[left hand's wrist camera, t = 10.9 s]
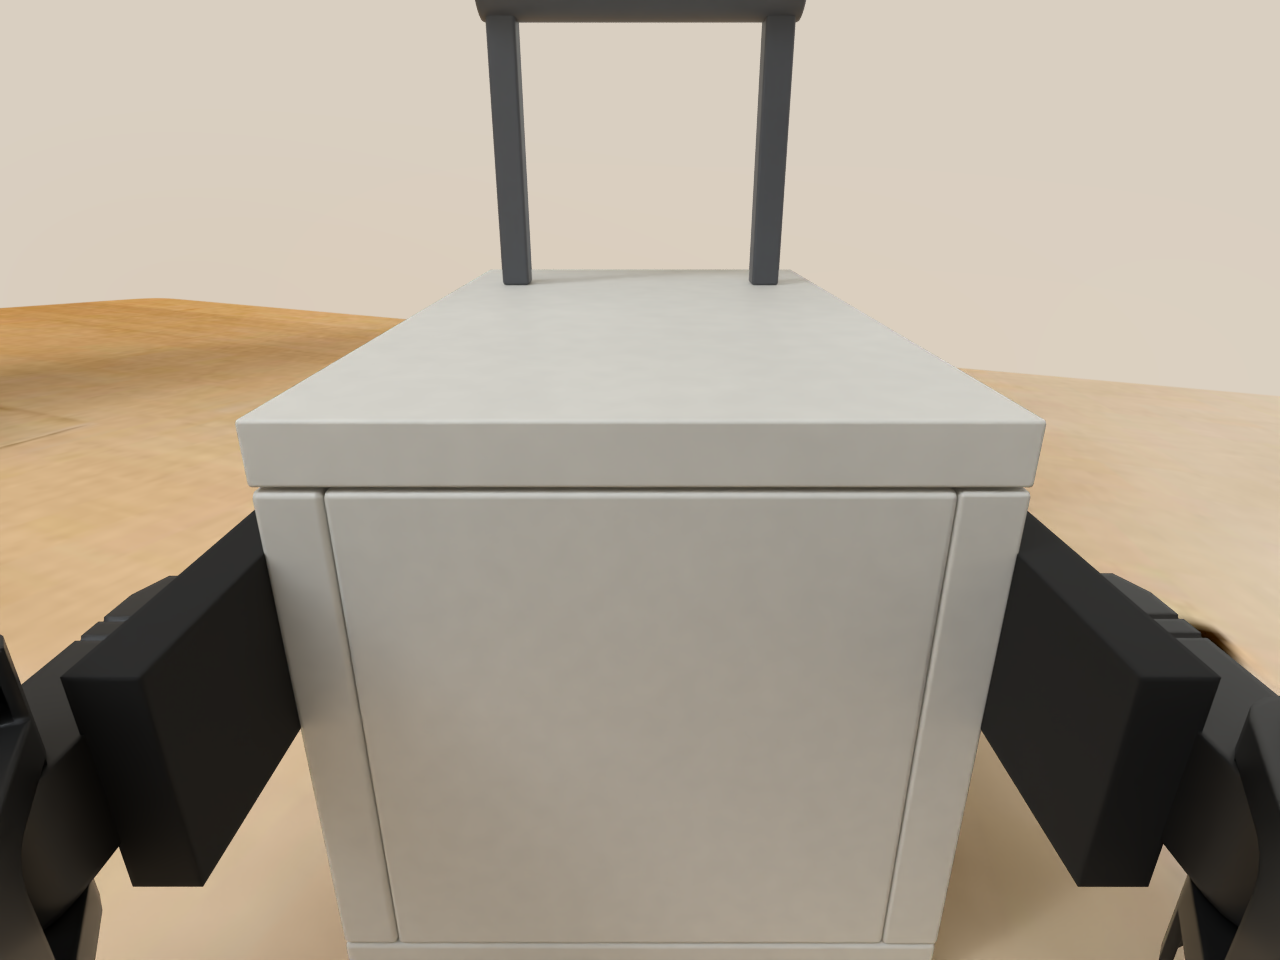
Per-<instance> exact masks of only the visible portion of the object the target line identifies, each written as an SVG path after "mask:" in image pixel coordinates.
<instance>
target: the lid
mask: <svg viewBox="0 0 1280 960" xmlns="http://www.w3.org/2000/svg"><path fill="white" fill-rule="evenodd" d="M475 2H476V6H477V10H478V13H479V16H480V18H481V20H482V21H483V22H486V33H487V48H488V63H489V78H490V94H491V109H492V124H493V139H494V154H495V169H496V184H497V199H498V214H499V229H500V244H501V259H502V270H489V271H488V272H486V273H484V274H483V275H481V276H479V277H477V278H476V279H474V280H472V281H471V282H469V283H467V284H466V285H464V286H462V287H461V288H459V289H457V290H455V291H454V292H452V293H450V294H449V295H447V296H445V297H444V298H442V299H440V300H439V301H437V302H435V303H433V304H432V305H430V306H428V307H427V308H425V309H423V310H422V311H420V312H418V313H417V314H415V315H413V316H412V317H410V318H408V319H406V320H405V321H403V322H401V323H400V324H398V325H396V326H395V327H393V328H391V329H390V330H388V331H386V332H384V333H383V334H381V335H379V336H378V337H376V338H374V339H373V340H371V341H369V342H368V343H366V344H364V345H362V346H361V347H359V348H357V349H356V350H354V351H352V352H351V353H349V354H347V355H346V356H344V357H342V358H340V359H339V360H337V361H335V362H334V363H332V364H330V365H329V366H327V367H325V368H324V369H322V370H320V371H318V372H317V373H315V374H313V375H312V376H310V377H308V378H307V379H305V380H303V381H302V382H300V383H298V384H297V385H295V386H293V387H291V388H290V389H288V390H286V391H285V392H283V393H281V394H280V395H278V396H276V397H275V398H273V399H271V400H269V401H268V402H266V403H264V404H263V405H261V406H259V407H258V408H256V409H254V410H253V411H251V412H249V413H247V414H246V415H244V416H242V417H241V418H239V419H237V420H236V423H235V425H236V430H237V435H238V439H239V444H240V449H241V454H242V458H243V463H244V468H245V473H246V477H247V482H248V485H249V486H250V487H1032V486H1033V484H1034V479H1035V474H1036V470H1037V465H1038V460H1039V455H1040V451H1041V446H1042V441H1043V436H1044V432H1045V427H1046V421H1045V420H1044V419H1042V418H1040V417H1039V416H1037V415H1035V414H1034V413H1032V412H1030V411H1029V410H1027V409H1025V408H1024V407H1022V406H1020V405H1018V404H1017V403H1015V402H1013V401H1012V400H1010V399H1008V398H1007V397H1005V396H1003V395H1002V394H1000V393H998V392H996V391H995V390H993V389H991V388H990V387H988V386H986V385H985V384H983V383H981V382H980V381H978V380H976V379H974V378H973V377H971V376H969V375H968V374H966V373H964V372H963V371H961V370H959V369H958V368H956V367H954V366H952V365H951V364H949V363H947V362H946V361H944V360H942V359H941V358H939V357H937V356H935V355H934V354H932V353H930V352H929V351H927V350H925V349H924V348H922V347H920V346H919V345H917V344H915V343H914V342H912V341H910V340H908V339H907V338H905V337H903V336H902V335H900V334H898V333H897V332H895V331H893V330H891V329H890V328H888V327H886V326H885V325H883V324H881V323H880V322H878V321H876V320H875V319H873V318H871V317H869V316H868V315H866V314H864V313H863V312H861V311H859V310H858V309H856V308H854V307H853V306H851V305H849V304H847V303H846V302H844V301H842V300H841V299H839V298H837V297H836V296H834V295H832V294H830V293H829V292H827V291H825V290H824V289H822V288H820V287H819V286H817V285H815V284H814V283H812V282H810V281H809V280H807V279H805V278H803V277H802V276H800V275H798V274H797V273H795V272H793V271H792V270H779V260H780V246H781V231H782V216H783V201H784V185H785V171H786V156H787V141H788V126H789V110H790V96H791V81H792V66H793V51H794V36H795V22H798V21H799V20H800V18H801V16H802V13H803V10H804V7H805V2H806V0H475ZM519 22H762V38H761V57H760V76H759V95H758V114H757V133H756V152H755V171H754V191H753V209H752V228H751V247H750V266H749V270H532V268H531V249H530V230H529V211H528V192H527V173H526V153H525V134H524V115H523V95H522V76H521V57H520V38H519Z"/></svg>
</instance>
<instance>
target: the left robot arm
mask: <svg viewBox="0 0 1280 960" xmlns="http://www.w3.org/2000/svg"><path fill="white" fill-rule="evenodd" d="M300 729H301V725H300V721H299V716H298V711H297V706H296V702H295V697H294V692H293V687H292V682H291V678H290V673H289V668H288V663H287V659H286V654H285V649H284V644H283V639H282V635H281V630H280V625H279V620H278V616H277V611H276V606H275V601H274V596H273V592H272V587H271V582H270V577H269V573H268V568H267V563H266V558H265V553H264V551H263V546H262V541H261V536H260V532H259V527H258V522H257V517H256V513H255V510H254V511H253V512H252V513H251V514H249V515H248V516H247V517H246V518H245V519H244V520H242V521H241V522H240V523H239V524H238V525H237V526H235V527H234V528H233V529H232V530H231V531H230V532H228V533H227V534H226V535H225V536H224V537H223V538H221V539H220V540H219V541H218V542H217V543H216V544H214V545H213V546H212V547H211V548H210V549H209V550H207V551H206V552H205V553H204V554H203V555H202V556H200V557H199V558H198V559H197V560H196V561H195V562H193V563H192V564H191V565H190V566H189V567H188V568H186V569H185V570H184V571H183V572H182V573H181V574H180V575H178V576H168V577H166V578H164V579H162V580H160V581H158V582H156V583H154V584H152V585H150V586H148V587H146V588H144V589H142V590H140V591H138V592H136V593H134V594H132V595H131V596H129V597H128V598H127V599H126V600H125V601H123V602H122V603H121V604H120V605H118V606H117V607H116V608H115V609H113V610H112V611H111V612H110V613H109V614H107V615H106V616H105V617H104V622H98V623H96V624H95V625H94V626H93V627H91V628H90V629H89V630H88V631H87V632H85V633H84V634H83V635H82V636H81V641H74V642H73V643H72V644H71V645H69V646H68V647H67V648H66V649H65V650H63V651H62V652H61V653H60V654H58V655H57V656H56V657H55V658H54V659H52V660H51V661H50V662H49V663H47V664H46V665H45V666H44V667H43V668H41V669H40V670H39V671H38V672H36V673H35V674H34V675H33V676H32V677H30V678H29V679H28V680H27V681H25V682H24V683H23V684H22V685H21V683H20V680H19V677H18V675H17V672H16V669H15V667H14V664H13V661H12V659H11V656H10V653H9V651H8V648H7V645H6V643H5V640H4V637H3V636H2V635H0V960H95V957H96V950H97V943H98V936H99V929H100V922H101V916H102V905H101V899H100V894H99V891H98V889H97V886H96V883H95V881H94V877H95V876H96V875H97V874H98V872H99V871H100V870H101V868H102V867H103V866H104V865H105V863H106V862H107V861H108V859H109V858H110V857H111V856H112V854H113V853H114V852H115V851H116V849H117V848H118V847H119V848H120V851H121V854H122V857H123V860H124V862H125V865H126V868H127V871H128V874H129V877H130V880H131V883H132V885H133V887H203V886H204V884H205V883H206V881H207V879H208V878H209V876H210V874H211V873H212V871H213V870H214V868H215V866H216V865H217V863H218V861H219V860H220V858H221V857H222V855H223V853H224V852H225V850H226V848H227V847H228V845H229V844H230V842H231V840H232V839H233V837H234V836H235V834H236V832H237V831H238V829H239V827H240V826H241V824H242V823H243V821H244V819H245V818H246V816H247V814H248V813H249V811H250V810H251V808H252V806H253V805H254V803H255V802H256V800H257V798H258V797H259V795H260V793H261V792H262V790H263V789H264V787H265V785H266V784H267V782H268V780H269V779H270V777H271V776H272V774H273V772H274V771H275V769H276V767H277V766H278V764H279V763H280V761H281V759H282V758H283V756H284V755H285V753H286V751H287V750H288V748H289V746H290V745H291V743H292V742H293V740H294V738H295V737H296V735H297V733H298V732H299V730H300ZM980 729H981V730H982V732H983V734H984V735H985V737H986V738H987V740H988V742H989V743H990V745H991V747H992V748H993V750H994V751H995V753H996V755H997V756H998V758H999V760H1000V761H1001V763H1002V764H1003V766H1004V768H1005V769H1006V771H1007V772H1008V774H1009V776H1010V777H1011V779H1012V781H1013V782H1014V784H1015V785H1016V787H1017V789H1018V790H1019V792H1020V794H1021V795H1022V797H1023V798H1024V800H1025V802H1026V803H1027V805H1028V806H1029V808H1030V810H1031V811H1032V813H1033V815H1034V816H1035V818H1036V819H1037V821H1038V823H1039V824H1040V826H1041V828H1042V829H1043V831H1044V832H1045V834H1046V836H1047V837H1048V839H1049V840H1050V842H1051V844H1052V845H1053V847H1054V849H1055V850H1056V852H1057V853H1058V855H1059V857H1060V858H1061V860H1062V862H1063V863H1064V865H1065V866H1066V868H1067V870H1068V871H1069V873H1070V874H1071V876H1072V878H1073V879H1074V881H1075V883H1076V884H1077V886H1078V887H1148V886H1149V883H1150V880H1151V877H1152V874H1153V872H1154V869H1155V866H1156V863H1157V860H1158V857H1159V854H1160V852H1161V849H1162V846H1163V844H1164V845H1165V846H1166V848H1167V849H1168V850H1169V851H1170V853H1171V854H1172V855H1173V857H1174V858H1175V859H1176V860H1177V862H1178V863H1179V864H1180V865H1181V867H1182V868H1183V869H1184V871H1185V872H1186V873H1187V874H1188V875H1187V878H1186V881H1185V883H1184V886H1183V889H1182V891H1181V894H1180V897H1179V899H1178V902H1177V905H1176V907H1175V910H1174V913H1173V915H1172V918H1171V921H1170V923H1169V926H1168V929H1167V931H1166V934H1165V937H1164V939H1163V942H1162V945H1161V951H1160V956H1159V960H1173V959H1174V957H1175V954H1176V952H1177V949H1178V948H1179V947H1181V946H1183V947H1184V954H1185V960H1280V696H1278V695H1277V694H1275V693H1274V692H1273V691H1272V690H1270V689H1269V688H1268V687H1267V686H1266V685H1264V684H1263V683H1262V682H1261V681H1259V680H1258V679H1257V678H1256V677H1254V676H1253V675H1252V674H1251V673H1249V672H1248V671H1247V670H1246V669H1245V668H1243V667H1242V666H1241V665H1240V664H1238V663H1237V662H1236V661H1235V660H1233V659H1232V658H1231V657H1230V656H1228V655H1227V654H1226V653H1225V652H1224V651H1222V650H1221V649H1220V648H1219V647H1217V646H1216V645H1215V644H1214V643H1212V642H1211V641H1210V640H1209V639H1208V638H1201V633H1200V632H1199V631H1198V630H1196V629H1195V628H1194V627H1193V626H1191V625H1190V624H1189V623H1188V622H1187V621H1185V620H1184V619H1178V614H1177V613H1175V612H1174V611H1173V610H1172V609H1171V608H1169V607H1168V606H1167V605H1166V604H1164V603H1163V602H1162V601H1161V600H1159V599H1158V598H1157V597H1156V596H1154V595H1153V594H1152V593H1151V592H1149V591H1147V590H1145V589H1143V588H1141V587H1139V586H1137V585H1135V584H1133V583H1131V582H1129V581H1127V580H1125V579H1123V578H1121V577H1119V576H1117V575H1115V574H1113V573H1099V572H1098V571H1097V570H1096V569H1095V568H1093V567H1092V566H1091V565H1090V564H1089V563H1088V562H1086V561H1085V560H1084V559H1083V558H1082V557H1081V556H1079V555H1078V554H1077V553H1076V552H1075V551H1074V550H1072V549H1071V548H1070V547H1069V546H1068V545H1067V544H1065V543H1064V542H1063V541H1062V540H1061V539H1060V538H1058V537H1057V536H1056V535H1055V534H1054V533H1053V532H1051V531H1050V530H1049V529H1048V528H1047V527H1046V526H1044V525H1043V524H1042V523H1041V522H1040V521H1039V520H1037V519H1036V518H1035V517H1034V516H1033V515H1032V514H1030V513H1029V512H1028V511H1027V515H1026V520H1025V524H1024V529H1023V534H1022V539H1021V543H1020V548H1019V553H1018V554H1017V557H1016V562H1015V567H1014V572H1013V576H1012V581H1011V586H1010V591H1009V595H1008V600H1007V605H1006V610H1005V614H1004V619H1003V624H1002V629H1001V633H1000V638H999V643H998V648H997V652H996V657H995V662H994V667H993V671H992V676H991V681H990V686H989V690H988V695H987V700H986V705H985V709H984V714H983V719H982V724H981V728H980Z"/></svg>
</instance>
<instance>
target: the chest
mask: <svg viewBox="0 0 1280 960" xmlns="http://www.w3.org/2000/svg"><path fill="white" fill-rule="evenodd" d="M1029 501H1030V493H1029V492H1028V491H1027V490H1026V489H1024V488H1023V487H260V488H258V489H257V490H256V491H255V492H254V494H253V503H254V508H255V513H256V517H257V522H258V527H259V532H260V536H261V541H262V546H263V551H264V553H265V558H266V563H267V568H268V573H269V577H270V582H271V587H272V592H273V596H274V601H275V606H276V611H277V616H278V620H279V625H280V630H281V635H282V639H283V644H284V649H285V654H286V659H287V663H288V668H289V673H290V678H291V682H292V687H293V692H294V697H295V702H296V706H297V711H298V716H299V721H300V725H301V732H302V737H303V742H304V746H305V751H306V756H307V761H308V765H309V770H310V775H311V780H312V784H313V789H314V794H315V799H316V804H317V808H318V813H319V818H320V823H321V827H322V832H323V837H324V842H325V846H326V851H327V856H328V861H329V866H330V870H331V875H332V880H333V885H334V889H335V894H336V899H337V904H338V908H339V913H340V918H341V923H342V928H343V932H344V937H345V940H346V941H347V952H348V956H349V960H932V956H933V952H934V943H935V942H936V941H937V937H938V932H939V927H940V922H941V918H942V913H943V908H944V904H945V899H946V894H947V889H948V885H949V880H950V875H951V870H952V866H953V861H954V856H955V851H956V847H957V842H958V837H959V832H960V828H961V823H962V818H963V813H964V809H965V804H966V799H967V795H968V790H969V785H970V780H971V776H972V771H973V766H974V761H975V757H976V752H977V747H978V742H979V738H980V733H981V729H980V728H981V724H982V719H983V714H984V709H985V705H986V700H987V695H988V690H989V686H990V681H991V676H992V671H993V667H994V662H995V657H996V652H997V648H998V643H999V638H1000V633H1001V629H1002V624H1003V619H1004V614H1005V610H1006V605H1007V600H1008V595H1009V591H1010V586H1011V581H1012V576H1013V572H1014V567H1015V562H1016V557H1017V554H1018V553H1019V548H1020V543H1021V539H1022V534H1023V529H1024V524H1025V520H1026V515H1027V510H1028V505H1029Z"/></svg>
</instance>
